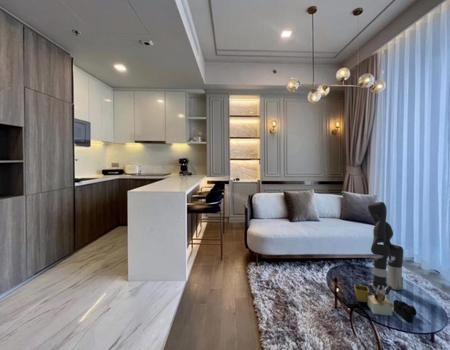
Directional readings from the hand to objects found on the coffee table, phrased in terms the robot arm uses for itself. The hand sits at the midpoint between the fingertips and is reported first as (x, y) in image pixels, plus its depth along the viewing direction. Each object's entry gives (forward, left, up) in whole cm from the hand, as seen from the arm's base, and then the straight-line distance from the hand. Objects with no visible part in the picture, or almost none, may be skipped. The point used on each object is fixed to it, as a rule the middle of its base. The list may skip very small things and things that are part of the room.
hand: (379, 299), depth 166 cm
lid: (0, 0, -1) cm, 1 cm away
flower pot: (+8, -11, -7) cm, 15 cm away
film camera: (-14, +4, -7) cm, 16 cm away
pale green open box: (0, 0, -7) cm, 7 cm away
